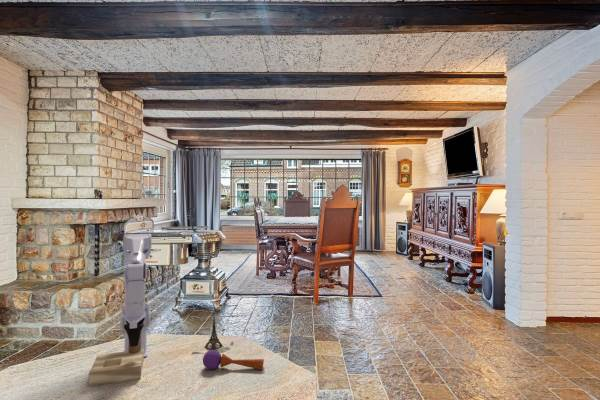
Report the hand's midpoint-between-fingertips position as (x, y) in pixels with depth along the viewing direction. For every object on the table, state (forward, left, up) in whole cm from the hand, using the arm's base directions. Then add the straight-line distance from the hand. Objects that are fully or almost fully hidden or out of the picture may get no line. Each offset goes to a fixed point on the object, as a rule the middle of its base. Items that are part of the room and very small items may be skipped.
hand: (134, 343), depth 113 cm
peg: (0, 0, -2) cm, 2 cm away
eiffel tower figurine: (-12, +26, -10) cm, 30 cm away
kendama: (+7, +31, -10) cm, 33 cm away
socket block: (-2, -5, -9) cm, 11 cm away
